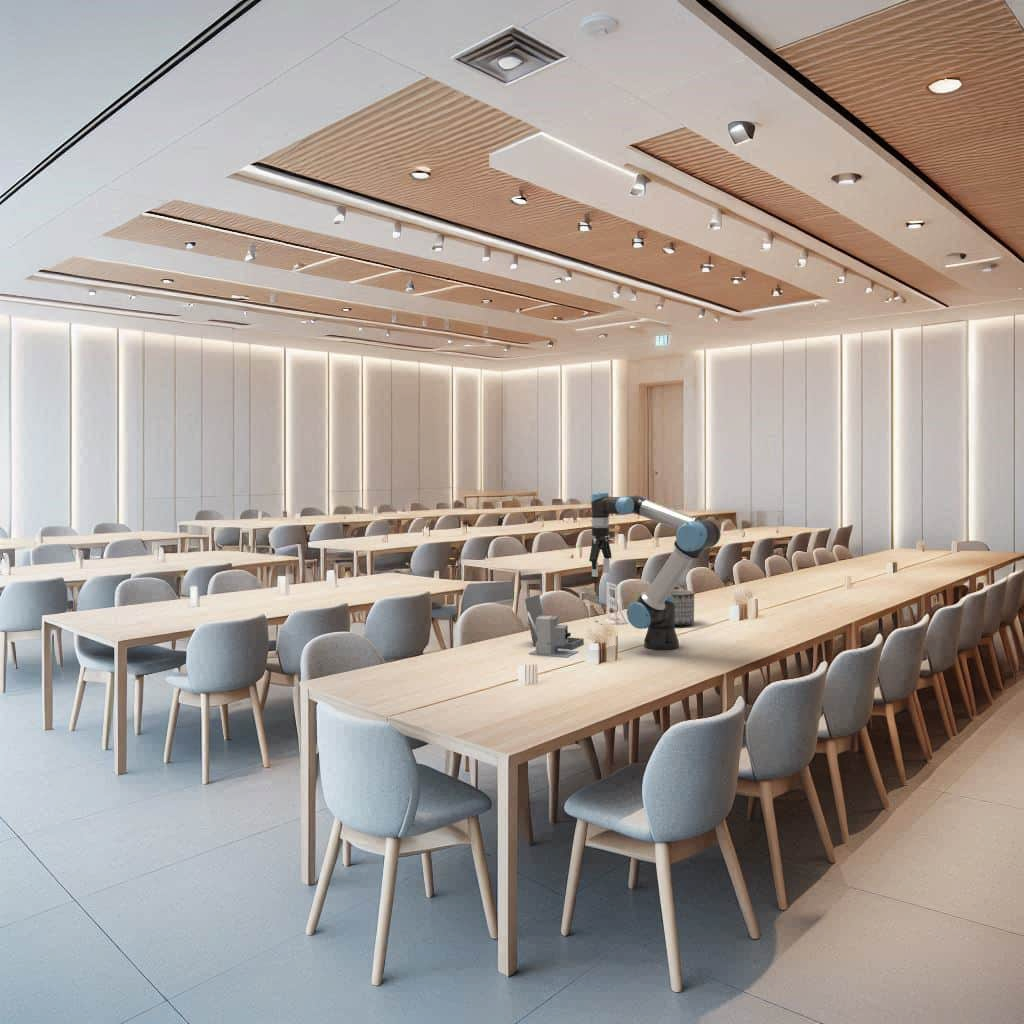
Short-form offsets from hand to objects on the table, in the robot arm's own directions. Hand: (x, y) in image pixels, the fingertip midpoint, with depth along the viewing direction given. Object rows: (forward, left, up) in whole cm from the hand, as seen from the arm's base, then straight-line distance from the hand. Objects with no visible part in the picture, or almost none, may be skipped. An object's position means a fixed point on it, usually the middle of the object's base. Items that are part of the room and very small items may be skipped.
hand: (600, 574), depth 379 cm
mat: (+13, +23, -32) cm, 41 cm away
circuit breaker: (+13, +23, -31) cm, 41 cm away
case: (+20, +8, -32) cm, 38 cm away
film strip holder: (+17, -55, -32) cm, 66 cm away
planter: (-15, -61, -32) cm, 70 cm away
